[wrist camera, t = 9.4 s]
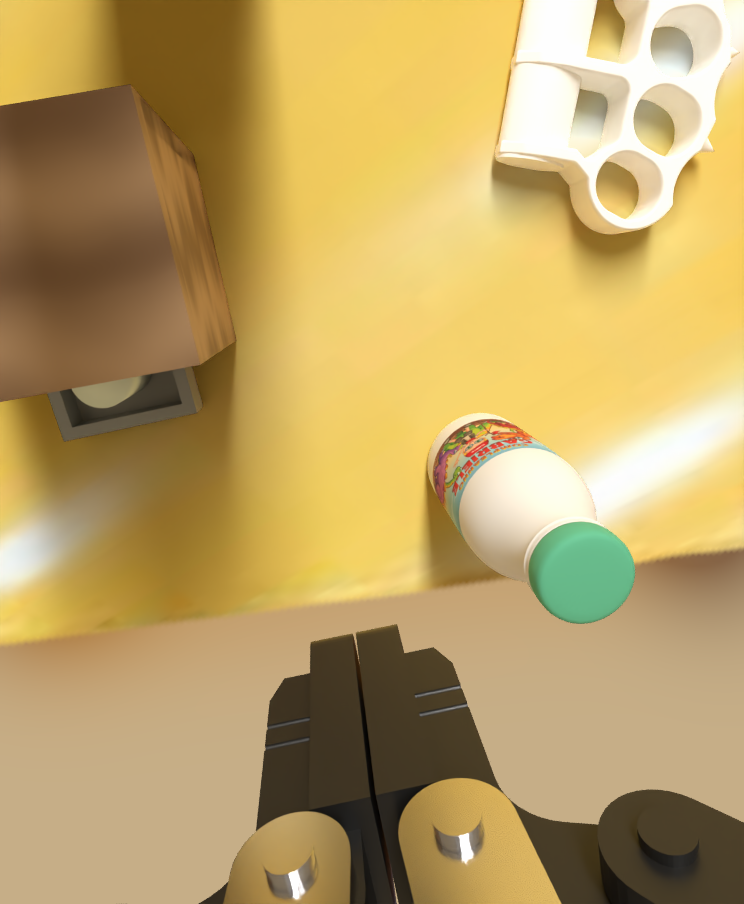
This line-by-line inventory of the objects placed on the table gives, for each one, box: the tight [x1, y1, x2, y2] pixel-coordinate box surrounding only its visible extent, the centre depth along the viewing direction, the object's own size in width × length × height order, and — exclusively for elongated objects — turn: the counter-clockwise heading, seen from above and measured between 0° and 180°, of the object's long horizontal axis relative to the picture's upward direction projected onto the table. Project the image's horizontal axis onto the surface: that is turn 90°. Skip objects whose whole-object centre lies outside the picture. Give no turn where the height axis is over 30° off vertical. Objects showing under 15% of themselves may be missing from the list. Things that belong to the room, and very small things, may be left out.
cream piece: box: [72, 374, 151, 408], centre depth 40 cm, size 4×4×5 cm
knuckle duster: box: [495, 0, 740, 234], centre depth 40 cm, size 3×18×15 cm
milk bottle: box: [427, 413, 635, 624], centre depth 37 cm, size 8×8×20 cm
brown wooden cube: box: [0, 84, 236, 402], centre depth 34 cm, size 12×13×14 cm
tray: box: [47, 366, 203, 441], centre depth 41 cm, size 12×9×3 cm
